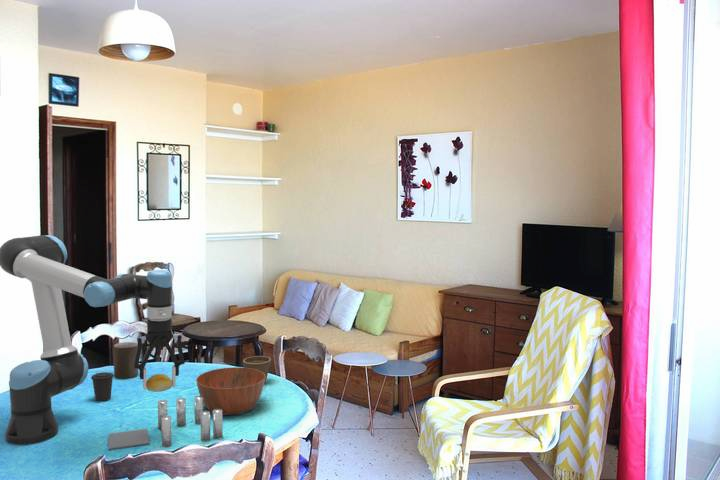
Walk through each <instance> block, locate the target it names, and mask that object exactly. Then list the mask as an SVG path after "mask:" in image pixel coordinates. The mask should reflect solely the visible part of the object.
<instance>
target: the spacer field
mask: <svg viewBox="0 0 720 480" xmlns="http://www.w3.org/2000/svg"><path fill="white" fill-rule="evenodd" d="M175 403H176V405H175V407H176V408H175V409H176V427H178V428H179V427H180V428H181V427H182V428H183V427H185V426H186V425H187V416H186V415H187V414H186V413H187V412H186V410H187V408H186V404H187V403H186V398H185V397H179V398H176V401H175ZM204 406H205V405H204V401H203V396H200V395H197V396H194V424H195V425H200V441H201V442H203V443H204V442H209V441H211V411H209V410H204V409H205V408H204ZM157 426H158V427H157V428H158V430H161V432H160V433H161V447H162V448H169V447H171V446H173V445H172V444H173V442H172V440H173V439H172V437H173V435H172V416H171V415H168V400H166V399H165V400H163V399H162V400H158V401H157ZM223 429H224V427H223V415H222V409H214V410H213V412H212V438H213V439H215V440H219V439H222V438H223Z"/></svg>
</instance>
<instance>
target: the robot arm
mask: <svg viewBox="0 0 720 480" xmlns="http://www.w3.org/2000/svg"><path fill="white" fill-rule="evenodd" d="M65 245H66V244H64V242H63V241H62V240H61V239H59V238H58V237H56V236H55V235H51V234H50V235H49V234H48V235H46V234H45V235H43V234H42V235H41V234H39V235H32V236H26V237H25V236H24V237H15V238H14V237H13V238H11V239H9V240H7V241H5V242H4V243H3V244H2V245H0V268H1V269H2V270H3V272H5V273H7V274H9V275H11V276H14V277H17V278H20V279H26V280H28V281H29V282H30V283H31V288H32V293H33V298H34V304H35V308H36V313H37V314H36V315H37V319H38V323H39V329H40V330H39V331H40V334H41V339H42V345H43V352H42V353H41V355H40V356H39V357H40V359H35V360H31V361H26V362H22V363H20V364H18V365H16V366H14V367H13V368H12V369H11V371H10V372H9V380H8V387H9V397H10V398H9V399H10V400H9V401H10V403H9V404H10V418H9V421H8V424H7V427H6V430H5V441H6V443H8V444H10V443H11V445H16V446H17V445H18V446H19V445H21V446H24V445H31V444H37V443H40V442H41V443H42V442H44V441H47V440H50V439H52V438H54V437H55V436H56V435H57V434H58V433H59V424H58V421H57V419H56V417H55V414H54V412H53V409H52V397H54V396H57V395H60V394H62V393H65V392H66V391H70V390H73V389H75V388H76V387H78V386H79V385H81V384H83V383H84V381H85V380H86V379H87V377H88V373H89V363H88V361H87V359H86V357H84V355H83V354H82V353H80V352H79V350H78V347H76V346H75V345H73V344H72V339H71V334H70V331H69V330H70V329H69V323H68V319H67V318H68V317H67V313H66V307H65V302H64V298H63V291H64V292H68V293H70V294H73V295H75V296H78V297H81V298H83V299H84V300H85V302H86V303H87V304H88V305H89V306H90V307H93V308H100V307H101V308H102V307H107V306H110V305H112V304H116V303H120V302H123V301H127V300H132V299H141V300H142V299H143V300H146V302H147V304H146V308H147V309H146V315H147V316H146V317H147V321H146V333H145V335H144V336H139V335H138V336H137V337H136V340H137V342H136V343H137V344H138V345H137V350H136V355H135V360H134V368H135V369H136V368H137V369H138V371H139V379H140V380H143V381H142V388H143V391H146V390H147V388H146V381H147V367H146V365H147V362H148V361H149V359H150V356H151V354H152V352H153V351H154V349H158V348H166V350H167V352H168V353H169V356H170V358H171V360H172V362H173V365H171V380H172V382H173V386H172V387H173V388H176V377H179V375H180V366H182V365H185V363H186V361H185V357H184V351H183V347H182V339H183V338H182V335H181V333H177V334H176V333H173V331H172V329H173V325H172V324H173V322H172V321H173V320H172V313H173V311H172V309H173V308H172V303H173V302H172V296H173V294H172V293H173V279H172V273H171V271H169V270H164V269H154V270H153V269H151V270H149V271H148V272H147V275H143V274H142V275H141V274H140V275H139V274H133V273H119V274H117V275H116V277H114V278H110V279H106V278H104V277H101V276H98V275H95V274H92V273H90V272H86V271H84V270H80V269H78V268H76V267H74V266H73V267H72V266H69V265H66V260H67V259H68V251H67V247H66V246H65ZM173 339H174V341H175V342H176V347H177V351H178V352H177V353H178V358H179V360H178V359H177V357H176V355H175V353H174V351H173V349H172V347H171V345H170V342H171V341H172V340H173ZM145 341H147V342H148V344H149V345H148V346H147V349H146V351H145V353H144V355H143V357H142V360H140V358H141V353H142V349H143V344H145Z"/></svg>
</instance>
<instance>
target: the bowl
mask: <svg viewBox="0 0 720 480" xmlns="http://www.w3.org/2000/svg"><path fill="white" fill-rule="evenodd" d="M195 380H196V386H197V390H198V391H197V392H198V393H199V396H203V401H204V406H205V408H206V409H207V411H210V413H213V410H214V409H222V416H234V415H235V416H236V415H240V414H241V415H242V414H244V413H247V412H249V411H251V410H252V409H254V408H255V407H256V405H257V404H258V403H259V400H260V398H261V396H262V393H263V390H264V386H265V384H264V382H265V374H264V373H263V372H261V371H259V370H256V369H252V368H245V367H241V366H240V367H239V366H238V367H236V366H235V367H222V368H216V369H211V370H209V371H205V372H203V373H201V374H199V375H198V376H197V377H196V379H195Z"/></svg>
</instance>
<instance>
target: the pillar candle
mask: <svg viewBox="0 0 720 480" xmlns="http://www.w3.org/2000/svg"><path fill="white" fill-rule="evenodd" d="M137 345H138V342H132V341H131V342H130V341H124V342H118V343H116V344H114V345H113V375H114V376H113V378H114V379H117V380H130V379H134V378H137V377H139V369H137V368H136V369H135V368H134V360H135V355H136V350H137Z"/></svg>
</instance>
